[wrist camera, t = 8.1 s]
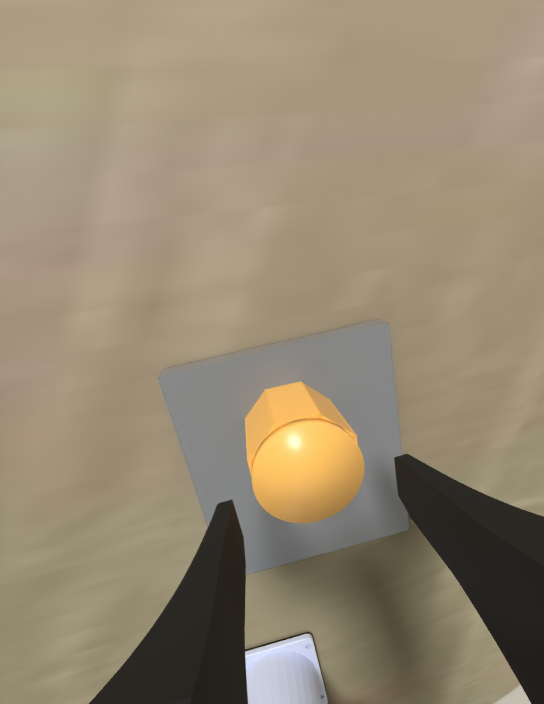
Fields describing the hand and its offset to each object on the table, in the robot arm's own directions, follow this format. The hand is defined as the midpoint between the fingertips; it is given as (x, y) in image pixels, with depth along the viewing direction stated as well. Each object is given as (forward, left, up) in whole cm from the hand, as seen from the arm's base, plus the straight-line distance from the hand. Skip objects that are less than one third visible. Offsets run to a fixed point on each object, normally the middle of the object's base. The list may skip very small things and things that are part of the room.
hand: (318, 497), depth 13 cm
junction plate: (-3, 0, -8) cm, 8 cm away
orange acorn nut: (0, 0, -6) cm, 6 cm away
